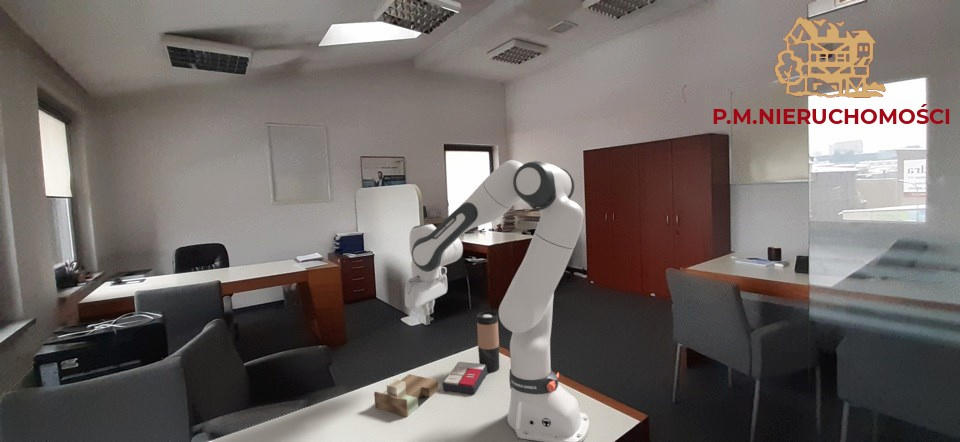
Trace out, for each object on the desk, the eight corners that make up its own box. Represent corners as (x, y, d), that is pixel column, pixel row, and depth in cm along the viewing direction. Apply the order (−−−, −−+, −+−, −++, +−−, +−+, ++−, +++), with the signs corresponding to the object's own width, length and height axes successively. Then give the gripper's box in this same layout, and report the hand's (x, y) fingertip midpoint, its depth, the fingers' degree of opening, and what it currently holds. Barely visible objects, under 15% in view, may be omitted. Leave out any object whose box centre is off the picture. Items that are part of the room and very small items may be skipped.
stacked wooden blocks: (438, 389, 129) (438, 374, 128) (406, 417, 114) (405, 400, 113) (409, 382, 134) (408, 368, 134) (375, 408, 119) (374, 392, 119)
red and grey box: (441, 381, 127) (458, 359, 141) (442, 393, 128) (459, 370, 142) (473, 385, 124) (487, 362, 138) (474, 398, 124) (487, 373, 138)
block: (406, 394, 121) (405, 382, 120) (397, 400, 117) (396, 388, 117) (396, 391, 123) (395, 379, 122) (387, 397, 119) (386, 385, 119)
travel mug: (504, 367, 142) (502, 313, 141) (490, 375, 137) (487, 319, 135) (488, 361, 148) (486, 310, 146) (474, 368, 142) (472, 315, 141)
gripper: (414, 280, 118) (418, 325, 119) (449, 267, 136) (452, 305, 137) (398, 279, 121) (401, 323, 122) (434, 266, 139) (437, 304, 140)
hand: (428, 314), depth 130 cm, fingers closed
